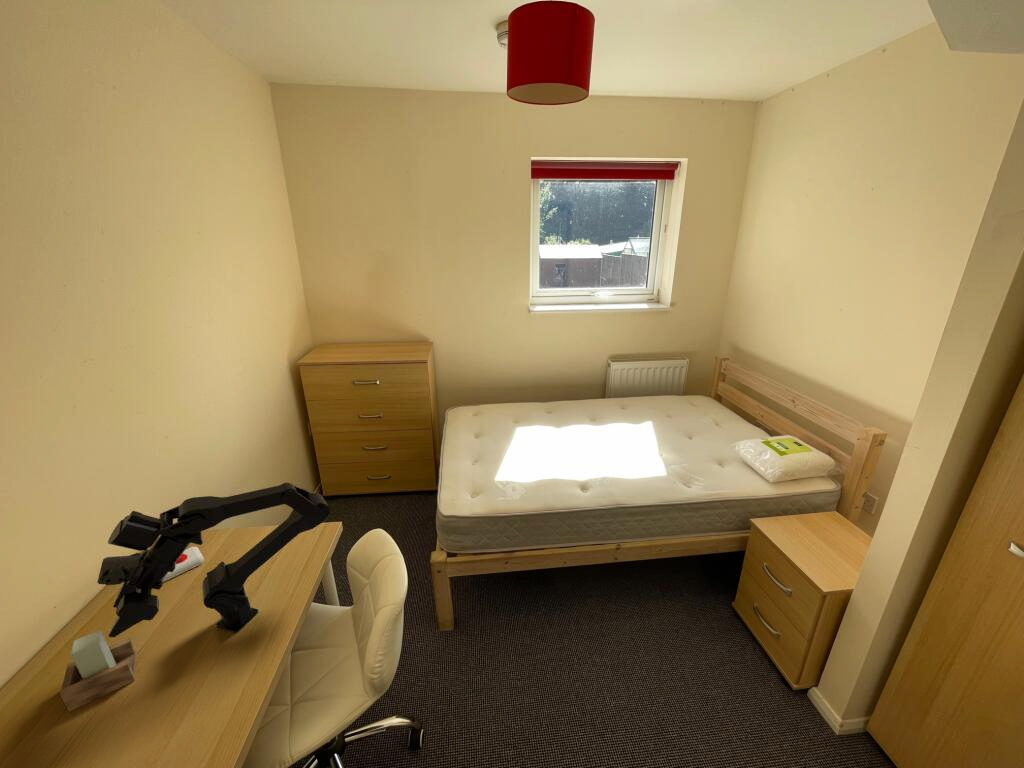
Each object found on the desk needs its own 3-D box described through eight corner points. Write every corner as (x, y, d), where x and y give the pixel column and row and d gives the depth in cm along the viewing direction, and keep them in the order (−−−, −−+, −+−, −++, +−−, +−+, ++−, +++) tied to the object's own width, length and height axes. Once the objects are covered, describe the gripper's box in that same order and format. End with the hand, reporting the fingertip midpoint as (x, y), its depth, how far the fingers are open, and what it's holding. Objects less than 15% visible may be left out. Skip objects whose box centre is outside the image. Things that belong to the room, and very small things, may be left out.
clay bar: (116, 664, 92) (100, 629, 89) (114, 678, 89) (98, 643, 86) (91, 675, 90) (74, 640, 86) (88, 690, 87) (70, 654, 83)
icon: (193, 536, 128) (202, 551, 121) (197, 548, 129) (206, 564, 123) (141, 559, 119) (148, 576, 113) (146, 571, 120) (153, 589, 114)
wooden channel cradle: (136, 653, 96) (129, 637, 94) (134, 680, 90) (127, 664, 88) (75, 680, 90) (67, 664, 88) (69, 711, 84) (60, 694, 82)
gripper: (123, 522, 93) (73, 586, 90) (115, 571, 79) (55, 649, 76) (178, 536, 100) (133, 596, 97) (180, 583, 86) (127, 655, 83)
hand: (113, 621), depth 88 cm, fingers open, 9 cm apart
